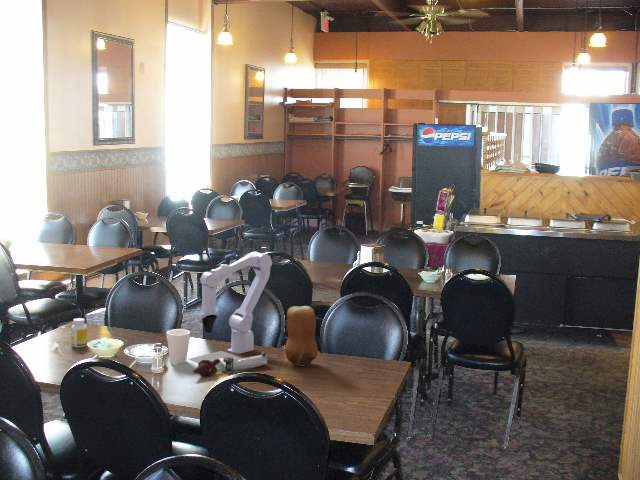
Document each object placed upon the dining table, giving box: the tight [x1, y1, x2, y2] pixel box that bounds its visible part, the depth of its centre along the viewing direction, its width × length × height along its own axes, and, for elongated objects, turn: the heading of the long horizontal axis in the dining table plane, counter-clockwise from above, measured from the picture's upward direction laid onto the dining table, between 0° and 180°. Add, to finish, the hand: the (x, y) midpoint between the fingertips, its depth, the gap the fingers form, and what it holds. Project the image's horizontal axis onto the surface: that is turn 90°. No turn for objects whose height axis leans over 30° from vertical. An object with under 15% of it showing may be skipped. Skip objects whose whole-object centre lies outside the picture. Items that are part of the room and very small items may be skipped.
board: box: [188, 350, 263, 375], centre depth 320 cm, size 18×26×1 cm
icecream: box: [192, 359, 220, 378], centre depth 303 cm, size 7×7×15 cm
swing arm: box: [223, 351, 268, 370], centre depth 312 cm, size 20×4×4 cm, turn 127°
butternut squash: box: [284, 305, 319, 367], centre depth 320 cm, size 14×13×25 cm
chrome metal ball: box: [221, 363, 235, 374], centre depth 308 cm, size 5×5×4 cm
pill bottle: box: [70, 317, 88, 348], centre depth 336 cm, size 6×6×12 cm
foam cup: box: [166, 328, 191, 366], centre depth 317 cm, size 10×9×13 cm
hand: (208, 332), depth 327 cm, fingers closed
